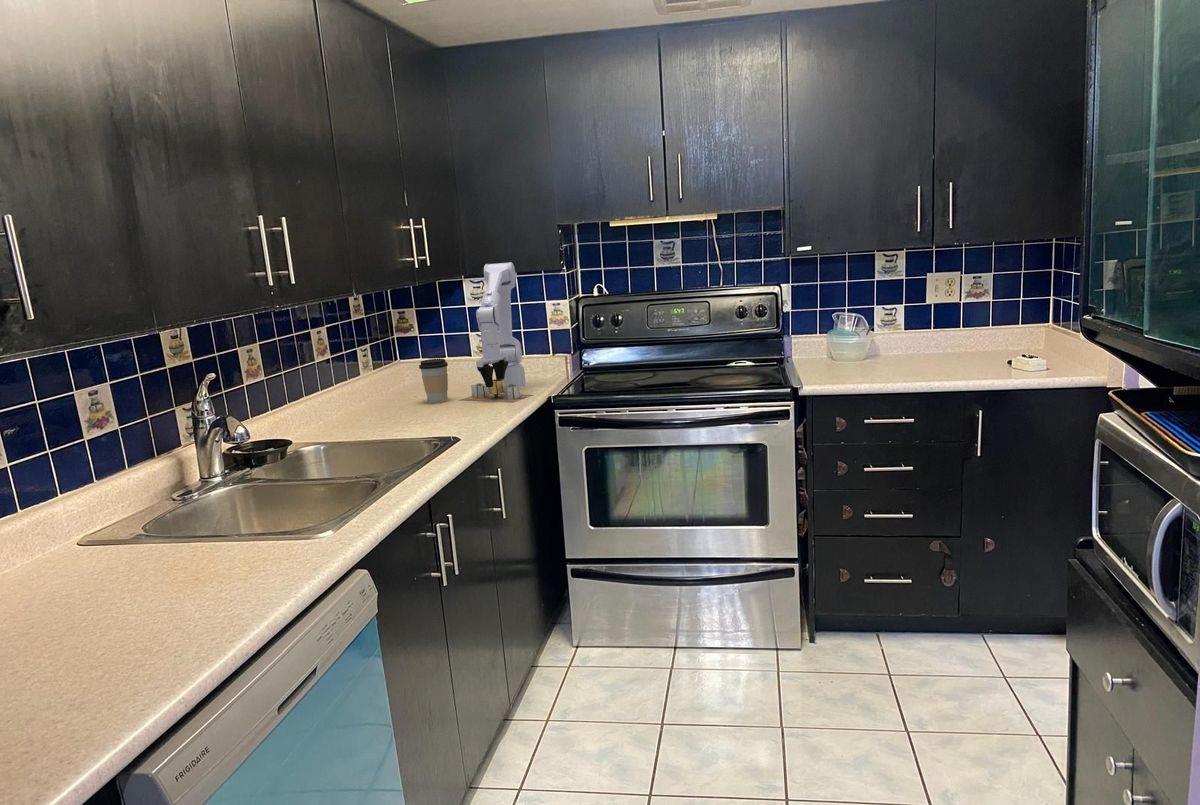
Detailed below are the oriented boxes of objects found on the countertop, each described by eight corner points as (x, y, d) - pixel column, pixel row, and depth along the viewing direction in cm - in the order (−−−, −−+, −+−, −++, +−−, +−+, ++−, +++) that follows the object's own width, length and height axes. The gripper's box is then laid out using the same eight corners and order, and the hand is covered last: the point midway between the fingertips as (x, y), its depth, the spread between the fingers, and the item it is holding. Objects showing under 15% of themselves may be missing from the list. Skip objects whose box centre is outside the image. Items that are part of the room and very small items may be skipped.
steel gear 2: (506, 397, 266) (505, 384, 265) (522, 396, 265) (520, 384, 264) (502, 400, 261) (501, 387, 260) (518, 399, 260) (517, 387, 259)
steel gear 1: (478, 395, 273) (477, 383, 272) (491, 395, 270) (490, 383, 269) (469, 398, 268) (467, 386, 267) (481, 398, 266) (480, 386, 265)
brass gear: (500, 389, 269) (499, 378, 268) (507, 391, 264) (506, 379, 264) (486, 392, 266) (484, 381, 266) (493, 394, 262) (491, 382, 261)
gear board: (481, 397, 277) (479, 380, 276) (534, 399, 266) (533, 381, 265) (458, 404, 267) (456, 386, 265) (513, 407, 256) (511, 388, 255)
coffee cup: (455, 401, 272) (450, 357, 269) (448, 407, 263) (442, 361, 260) (428, 403, 273) (423, 359, 270) (419, 409, 264) (414, 363, 261)
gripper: (494, 340, 271) (498, 381, 273) (466, 347, 258) (471, 389, 261) (511, 340, 267) (515, 381, 270) (484, 347, 255) (489, 389, 257)
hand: (494, 385), depth 265 cm, fingers closed on brass gear, 5 cm apart
